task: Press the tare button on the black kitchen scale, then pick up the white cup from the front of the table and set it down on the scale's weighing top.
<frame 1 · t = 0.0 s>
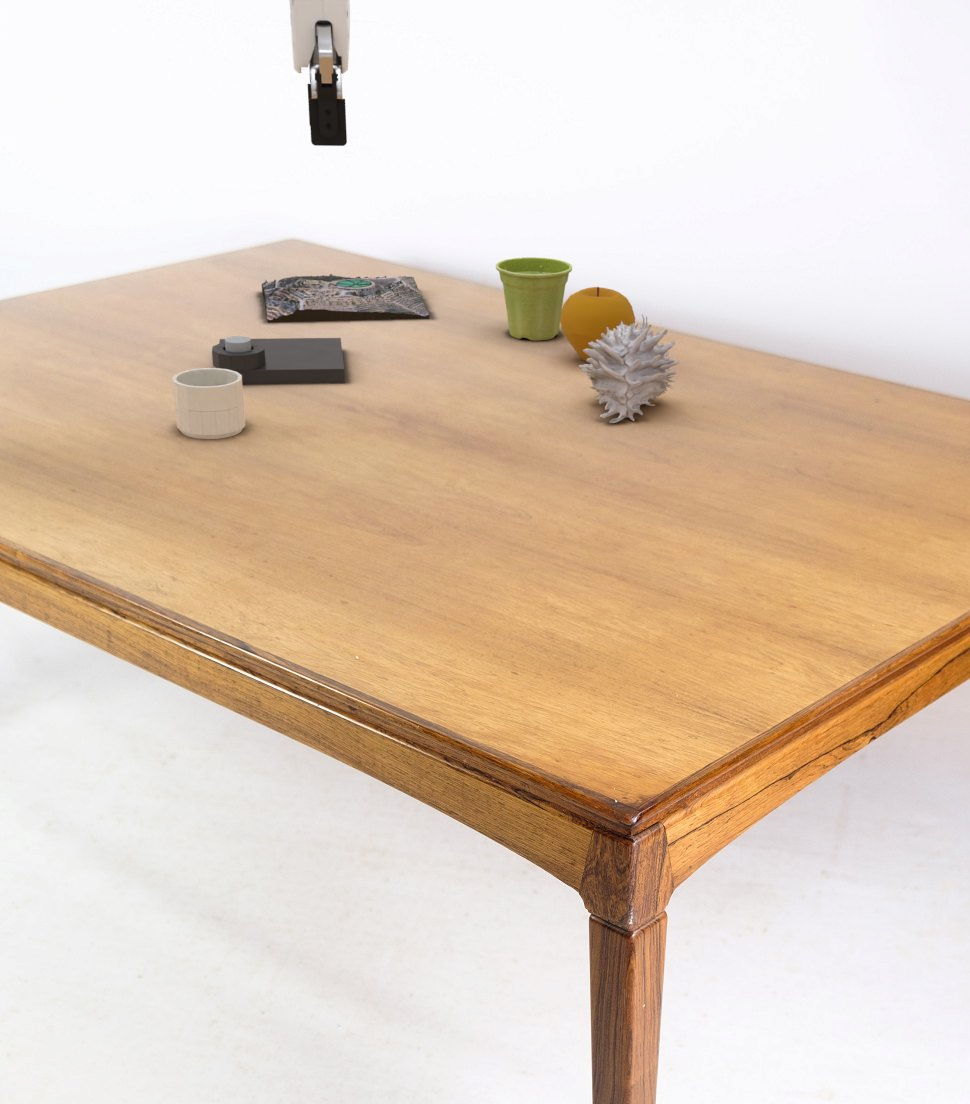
hand: (327, 136, 153), 29 cm above the table, tool pointing down, fingers open, 9 cm apart
terrain model: (343, 307, 213), on the table
plant pot: (533, 336, 204), on the table
spiky white shell: (625, 411, 179), on the table
tare button: (238, 345, 181), point 4 cm above the table, slide at 0.1 cm
white cup: (211, 429, 167), on the table
scale: (281, 368, 187), on the table
apple: (596, 363, 195), on the table
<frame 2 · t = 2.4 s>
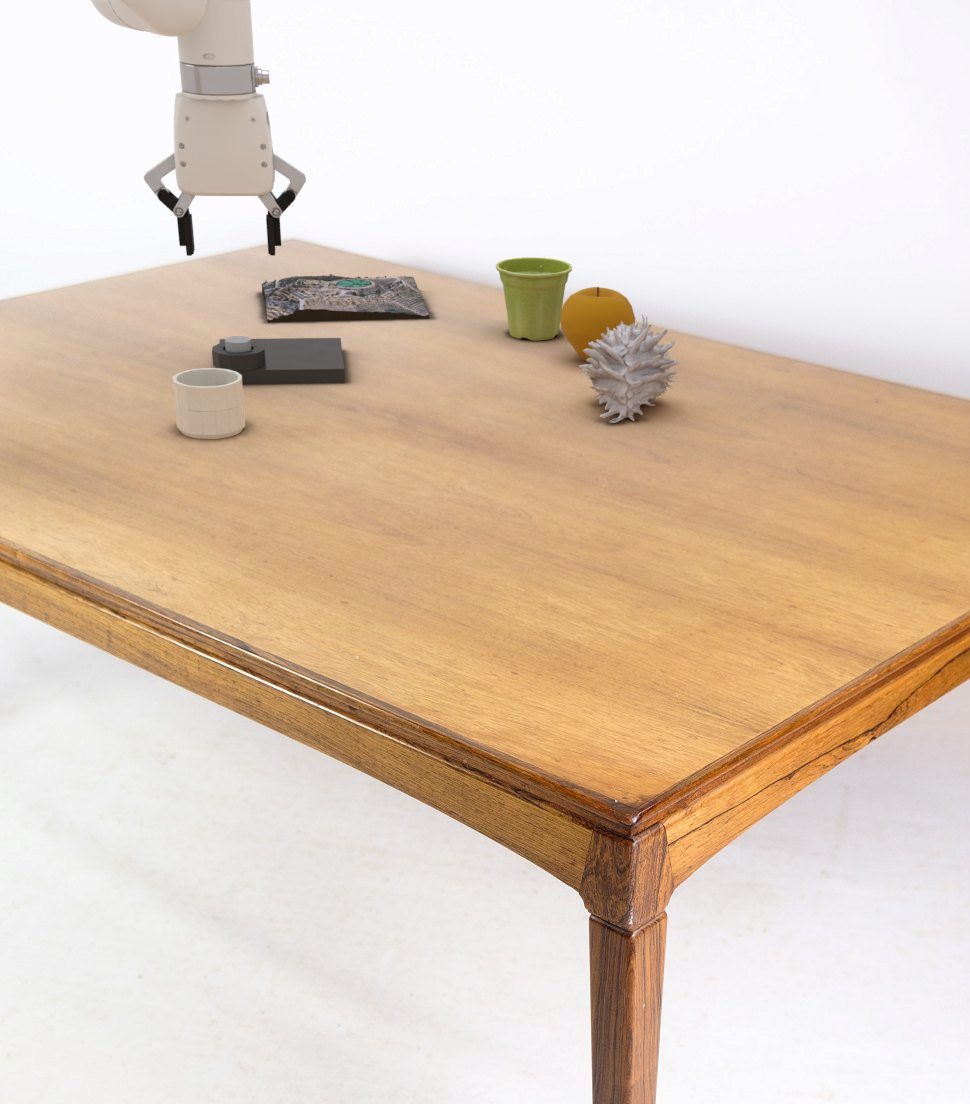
hand: (231, 252, 176), 14 cm above the table, tool pointing down, fingers open, 8 cm apart
nothing on the table moved.
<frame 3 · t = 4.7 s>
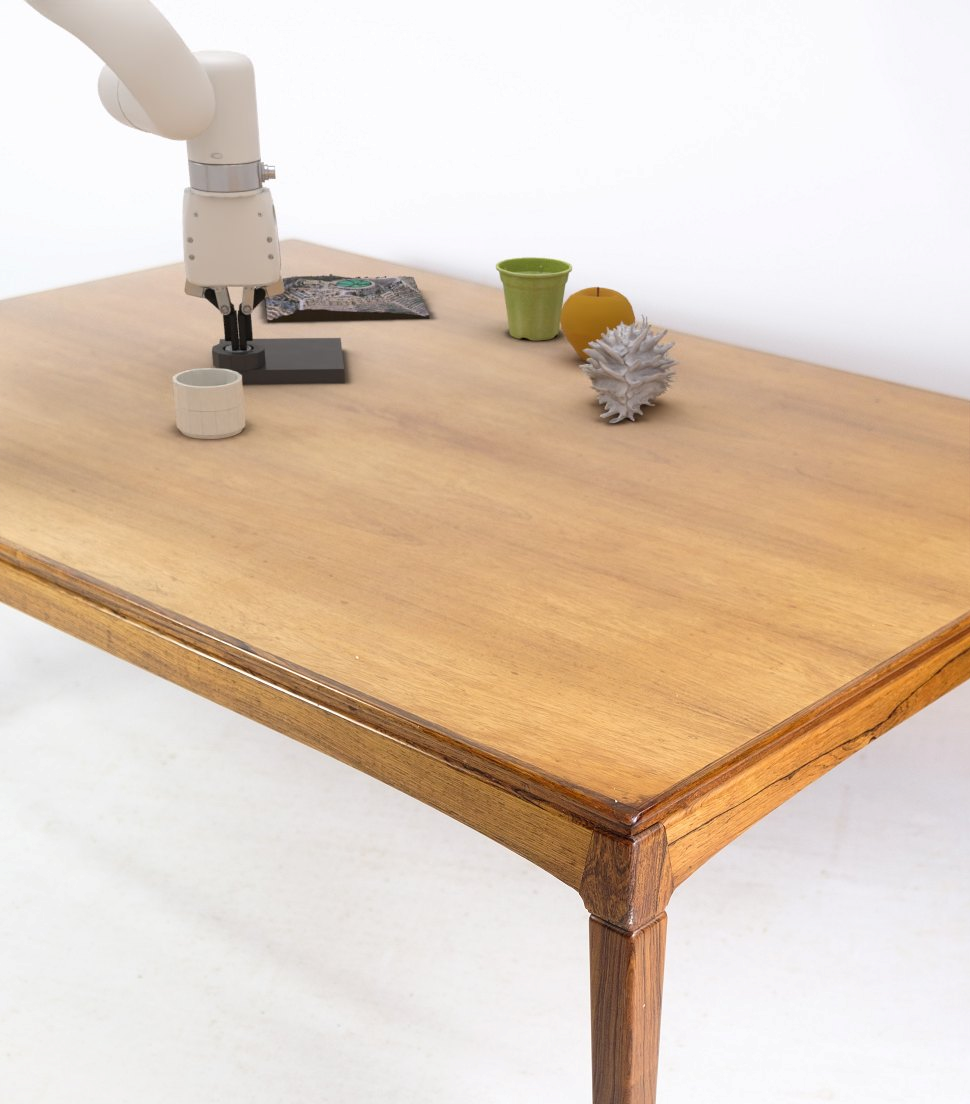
hand: (239, 347, 182), 4 cm above the table, tool pointing down, fingers closed
tare button: (238, 353, 182), point 3 cm above the table, slide at -0.8 cm, touching gripper
everything else where it was.
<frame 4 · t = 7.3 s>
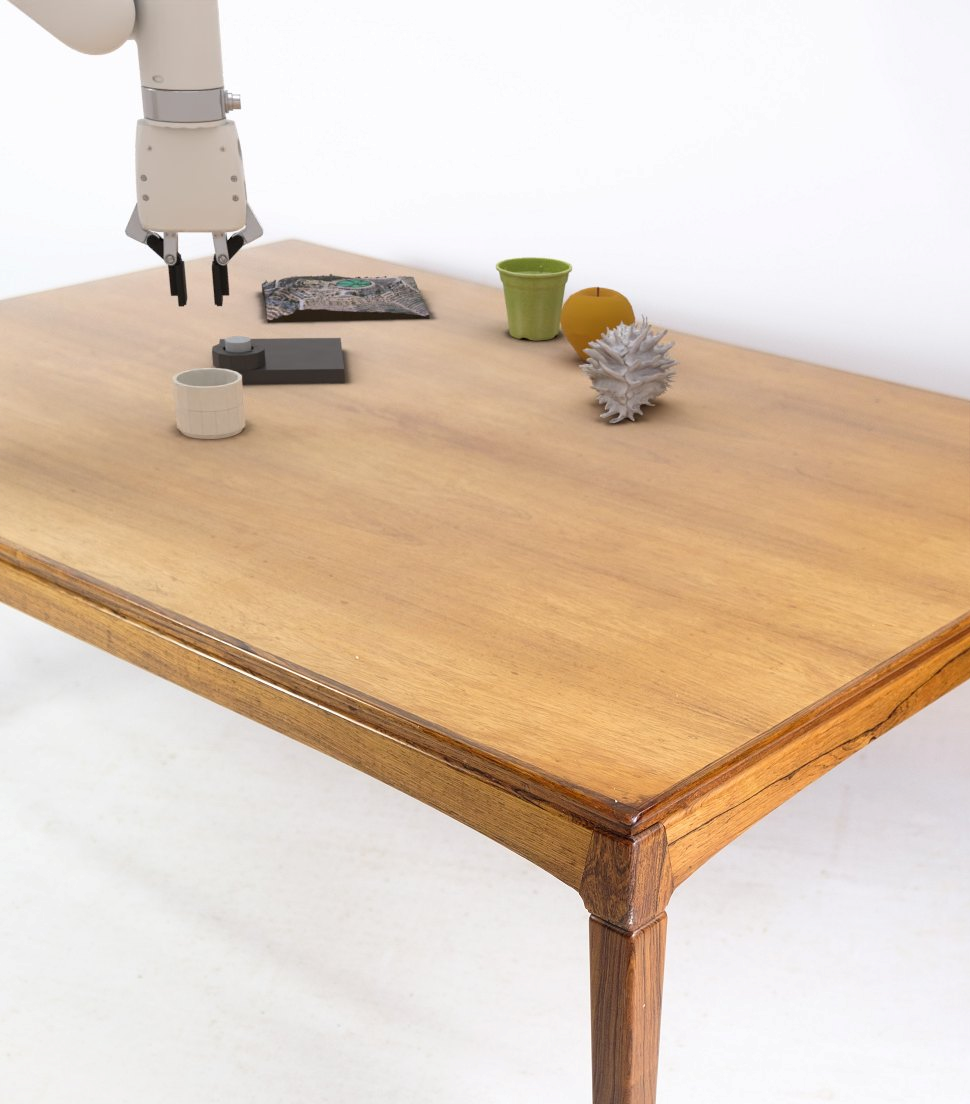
hand: (200, 301, 161), 13 cm above the table, tool pointing down, fingers closed
tare button: (238, 345, 181), point 4 cm above the table, slide at 0.1 cm
everything else where it was.
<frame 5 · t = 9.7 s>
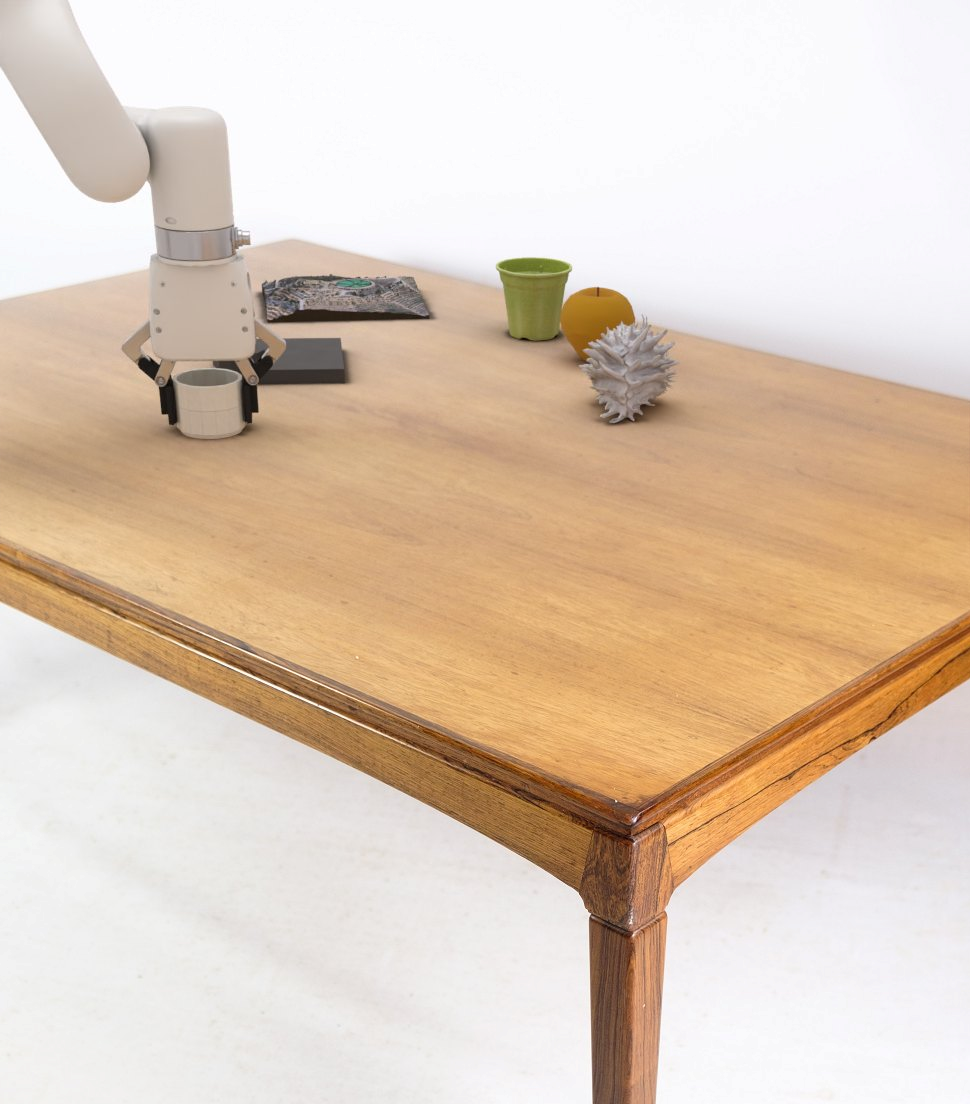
hand: (211, 418, 167), 1 cm above the table, tool pointing down, fingers closed on white cup, 6 cm apart
white cup: (212, 429, 167), on the table, touching gripper
everything else where it was.
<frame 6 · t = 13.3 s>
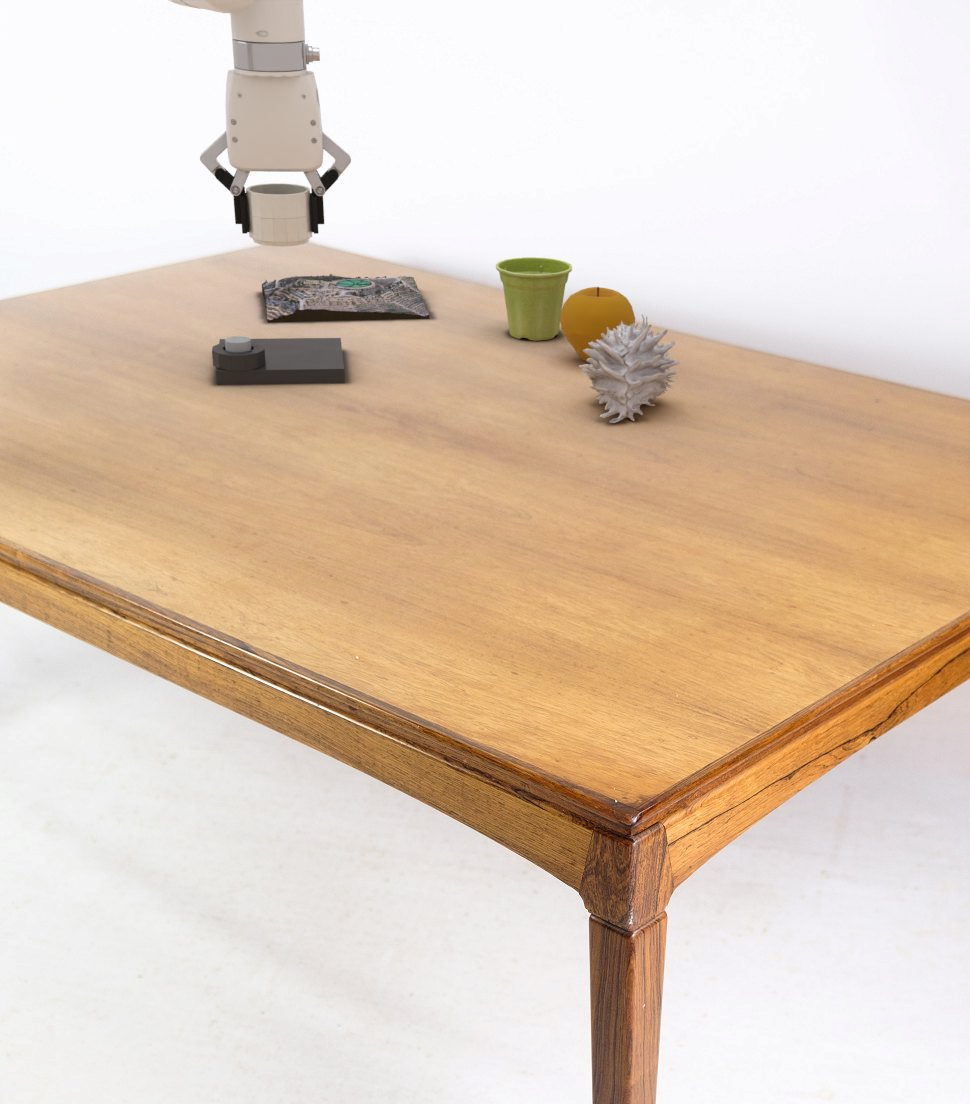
hand: (280, 229, 180), 16 cm above the table, tool pointing down, fingers closed on white cup, 6 cm apart
white cup: (281, 240, 180), point 15 cm above the table, touching gripper
everything else where it was.
when the fingers open (3 cm above the table, at t = 16.8 s): white cup stays where it is, resting on scale.
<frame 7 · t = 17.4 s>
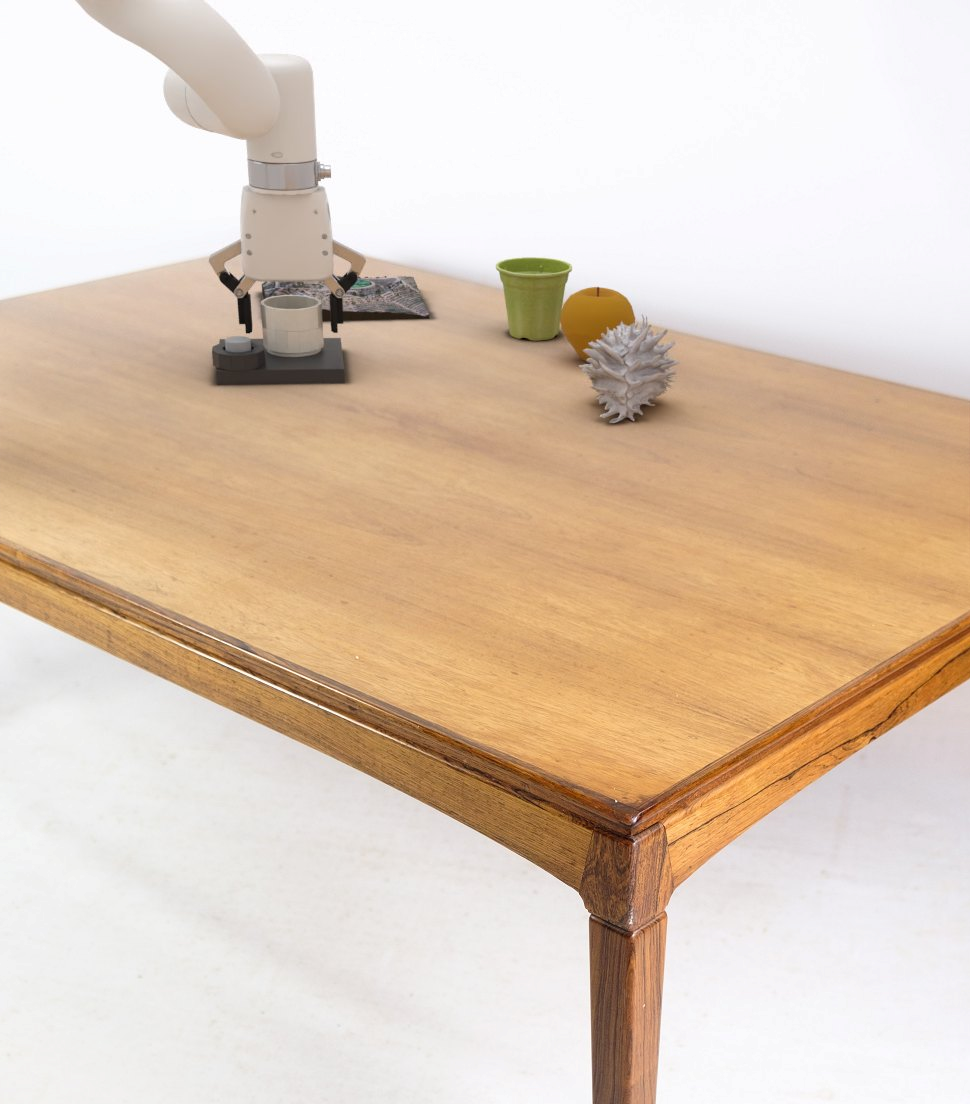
hand: (291, 330, 187), 4 cm above the table, tool pointing down, fingers open, 9 cm apart
white cup: (294, 349, 188), point 2 cm above the table, touching scale
everything else where it was.
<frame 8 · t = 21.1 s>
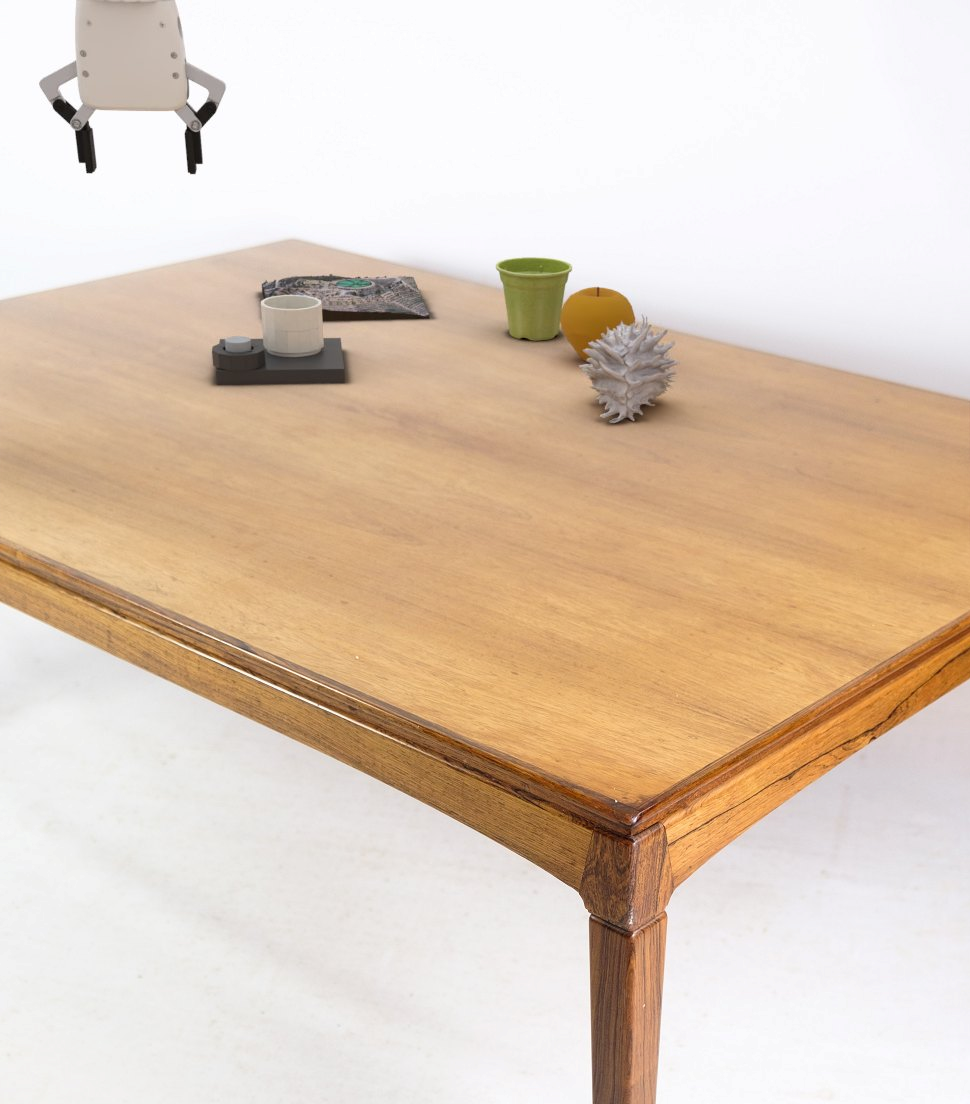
hand: (142, 171, 161), 24 cm above the table, tool pointing down, fingers open, 9 cm apart
nothing on the table moved.
at the end: tare button pushed in 0.9 cm at the most during the clip, back to where it started at the end; white cup inside the target area on the scale (0.7 cm from its centre), point 1.7 cm above the scale's base; white cup touching scale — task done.
